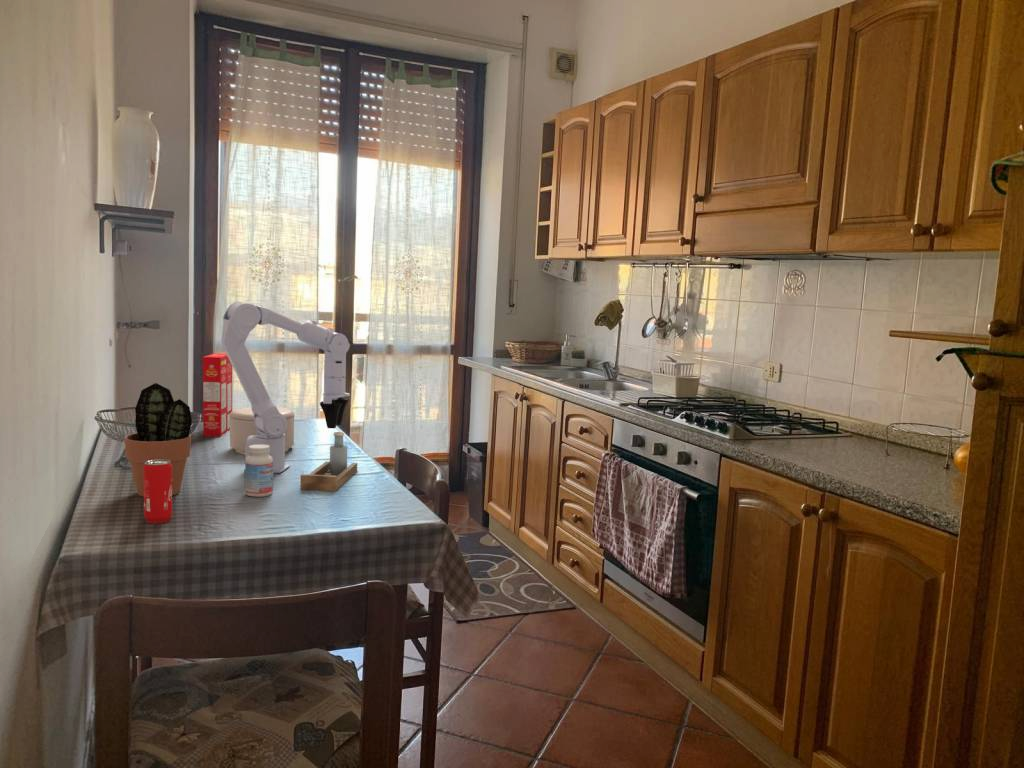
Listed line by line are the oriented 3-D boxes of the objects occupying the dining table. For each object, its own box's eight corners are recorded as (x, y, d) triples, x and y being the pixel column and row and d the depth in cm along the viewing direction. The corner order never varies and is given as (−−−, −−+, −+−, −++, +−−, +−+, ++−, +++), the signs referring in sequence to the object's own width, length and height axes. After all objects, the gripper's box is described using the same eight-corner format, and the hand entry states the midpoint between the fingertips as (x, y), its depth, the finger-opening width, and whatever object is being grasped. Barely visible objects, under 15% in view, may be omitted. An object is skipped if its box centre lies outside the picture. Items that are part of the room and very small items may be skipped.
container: (302, 453, 224) (303, 413, 222) (239, 458, 213) (239, 416, 212) (283, 441, 238) (283, 404, 237) (222, 446, 228) (222, 407, 227)
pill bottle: (264, 498, 174) (264, 449, 173) (239, 496, 175) (239, 447, 174) (277, 492, 180) (278, 444, 179) (253, 489, 181) (254, 442, 180)
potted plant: (126, 503, 166) (124, 388, 163) (124, 487, 178) (123, 380, 175) (194, 497, 173) (193, 386, 170) (188, 483, 185) (187, 379, 182)
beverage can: (149, 516, 157) (149, 458, 156) (176, 516, 158) (175, 459, 157) (139, 523, 152) (139, 464, 151) (166, 524, 153) (166, 464, 151)
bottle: (327, 474, 199) (328, 434, 198) (332, 470, 203) (332, 431, 202) (344, 475, 199) (345, 434, 197) (348, 471, 203) (349, 431, 202)
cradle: (300, 489, 183) (300, 475, 183) (325, 469, 204) (325, 456, 204) (335, 491, 183) (335, 476, 182) (357, 471, 204) (357, 458, 203)
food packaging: (216, 428, 257) (215, 353, 254) (232, 428, 257) (232, 353, 254) (203, 436, 242) (202, 356, 239) (220, 436, 243) (220, 357, 240)
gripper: (342, 380, 201) (341, 431, 202) (356, 374, 215) (355, 422, 217) (315, 379, 201) (315, 430, 203) (331, 373, 216) (330, 421, 217)
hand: (334, 426), depth 210 cm, fingers open, 5 cm apart
